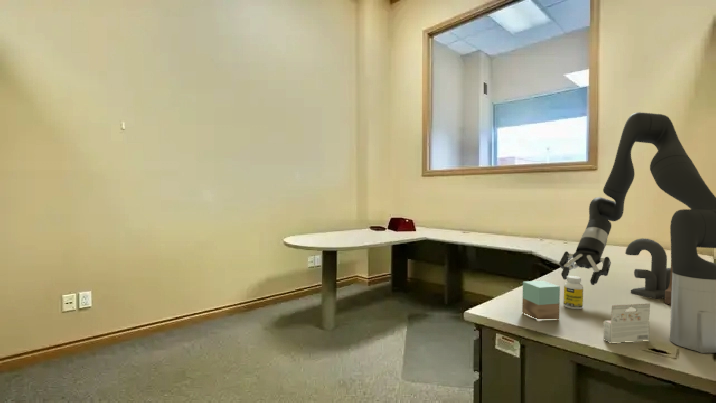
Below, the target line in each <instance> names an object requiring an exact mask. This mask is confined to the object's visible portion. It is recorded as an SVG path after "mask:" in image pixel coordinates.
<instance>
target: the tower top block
mask: <svg viewBox="0 0 716 403" xmlns="http://www.w3.org/2000/svg"><path fill="white" fill-rule="evenodd" d="M560 295H561V286H560V285H557V284H554V283H551V282H548V281H546V280H530V281H529V280H527V281H522V299H523V298H524V299H526V300H528V301H531V302H533V303H535V304H538V305H546V304H560Z"/></svg>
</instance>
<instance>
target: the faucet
mask: <svg viewBox="0 0 716 403" xmlns="http://www.w3.org/2000/svg"><path fill="white" fill-rule="evenodd" d="M642 251H647V252H648V253H650V257H651V261H650V262H651V266H650V268H651V269H644V268H643V269H642V268H634V271H633V275H634V277H635V278H636V279H645V280H644V286H642V287H635V288H633V289H631V290H630V294H633V295H637V296H641V297H645V298H649V299H654V300H659V299H665V291H666V290H667V289H668V287H669V284H670V276H671V267H667V265H668V255H667V253H666V250H665V249H664V247H663V246H662V245H661V244H660V243H659V242H657V241H655V240H653V239H651V238H643V237H642V238H637V239H635V240H632V241H631V242H630V243H628V245H627V247H626V249H625V252H624V253H625V254H626V256H640V253H641V252H642Z"/></svg>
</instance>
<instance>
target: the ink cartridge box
mask: <svg viewBox="0 0 716 403" xmlns="http://www.w3.org/2000/svg"><path fill="white" fill-rule="evenodd" d="M630 308H633V309H635V311H626V310H628V309H630ZM650 309H651V303H636V304H635V303H633V304H617V305H616V304H615V305H612V306H611V312H610V315H611V317H610V319H611V320H603V340H604V339H605V340H607V341H609V342H625V341H643V340H649V341H650V311H651V310H650Z"/></svg>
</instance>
